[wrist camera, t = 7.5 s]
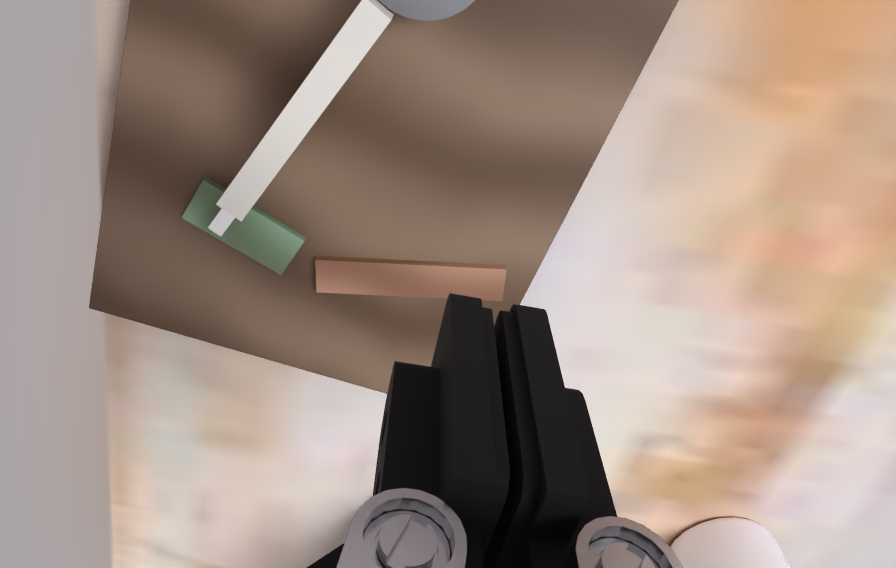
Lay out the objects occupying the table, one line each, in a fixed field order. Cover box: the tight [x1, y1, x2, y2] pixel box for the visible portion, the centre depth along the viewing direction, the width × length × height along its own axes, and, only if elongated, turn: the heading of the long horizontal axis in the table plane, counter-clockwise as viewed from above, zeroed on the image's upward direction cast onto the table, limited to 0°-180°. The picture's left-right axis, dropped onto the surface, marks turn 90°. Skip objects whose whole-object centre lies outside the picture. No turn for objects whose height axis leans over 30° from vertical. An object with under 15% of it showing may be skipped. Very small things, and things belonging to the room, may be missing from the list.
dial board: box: [89, 0, 678, 394], centre depth 24 cm, size 26×18×2 cm
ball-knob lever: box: [208, 0, 475, 236], centre depth 21 cm, size 15×4×4 cm, turn 140°
